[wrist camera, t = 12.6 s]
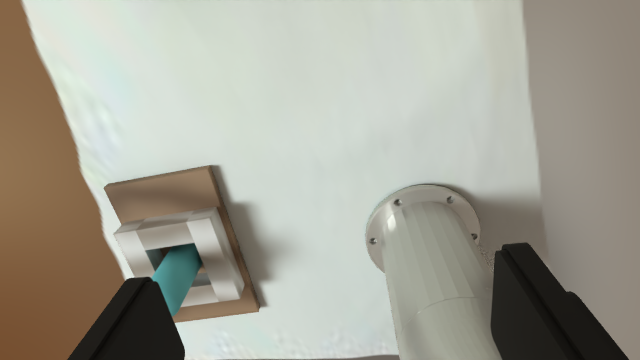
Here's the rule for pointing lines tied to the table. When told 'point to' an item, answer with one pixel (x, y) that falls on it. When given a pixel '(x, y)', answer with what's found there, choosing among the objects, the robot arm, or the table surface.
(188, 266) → the peg
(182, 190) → the socket board
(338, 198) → the table surface
